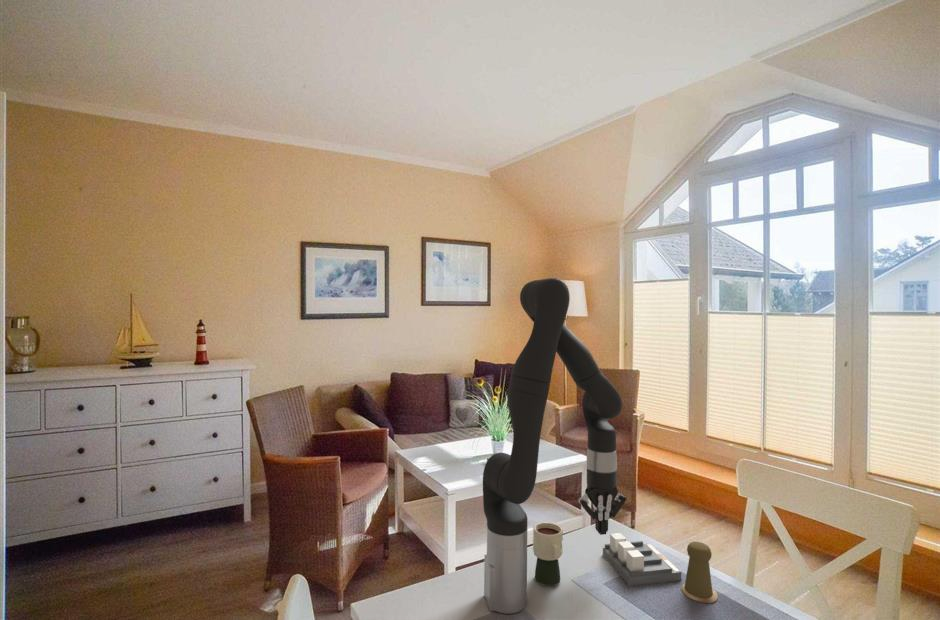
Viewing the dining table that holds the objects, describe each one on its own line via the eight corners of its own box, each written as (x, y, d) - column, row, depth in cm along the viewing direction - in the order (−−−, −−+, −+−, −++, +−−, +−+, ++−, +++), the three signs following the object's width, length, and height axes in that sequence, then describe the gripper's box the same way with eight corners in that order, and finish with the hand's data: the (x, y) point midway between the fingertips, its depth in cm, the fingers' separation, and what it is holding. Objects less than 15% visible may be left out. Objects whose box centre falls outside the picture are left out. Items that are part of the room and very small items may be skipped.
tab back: (615, 554, 124) (615, 539, 124) (609, 548, 127) (610, 533, 127) (625, 553, 125) (626, 538, 125) (620, 547, 128) (620, 533, 128)
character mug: (570, 592, 111) (570, 537, 111) (541, 596, 110) (542, 540, 109) (552, 567, 122) (553, 517, 122) (526, 570, 120) (526, 519, 120)
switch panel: (629, 585, 114) (629, 573, 114) (602, 555, 128) (602, 544, 128) (681, 580, 117) (681, 568, 117) (649, 550, 130) (650, 540, 130)
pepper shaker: (716, 599, 108) (717, 552, 108) (688, 596, 109) (689, 549, 109) (708, 584, 114) (708, 539, 114) (681, 581, 115) (682, 537, 115)
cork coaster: (695, 604, 107) (695, 602, 107) (675, 585, 114) (675, 583, 114) (725, 601, 108) (725, 599, 108) (703, 582, 116) (703, 580, 116)
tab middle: (623, 563, 120) (623, 548, 120) (617, 557, 123) (618, 542, 123) (634, 562, 120) (634, 547, 120) (628, 556, 123) (628, 541, 123)
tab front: (632, 573, 115) (632, 557, 115) (626, 566, 118) (626, 550, 118) (643, 572, 116) (644, 556, 116) (637, 565, 119) (637, 549, 119)
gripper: (618, 459, 125) (618, 523, 125) (571, 462, 123) (571, 528, 123) (633, 469, 118) (633, 537, 118) (583, 473, 115) (583, 543, 116)
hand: (601, 533), depth 120 cm, fingers closed
